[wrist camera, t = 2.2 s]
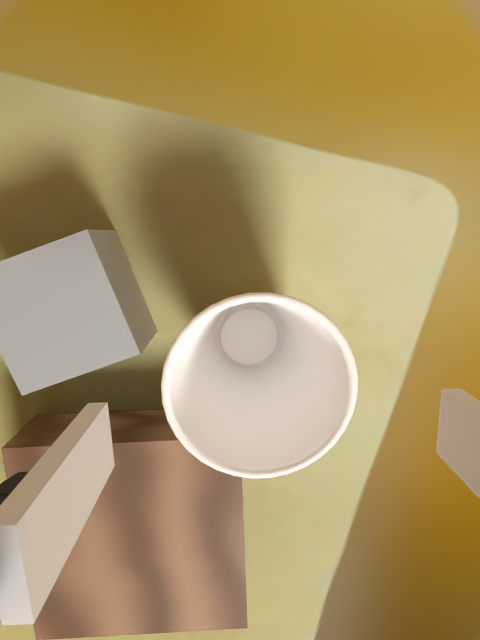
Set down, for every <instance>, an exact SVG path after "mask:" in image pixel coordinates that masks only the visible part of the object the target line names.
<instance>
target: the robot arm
mask: <svg viewBox="0 0 480 640" xmlns="http://www.w3.org/2000/svg"><path fill="white" fill-rule="evenodd" d="M436 452H437V454H438V455H439V456H440V457H441V458H442V459H443V460H444V461H445V462H446V463H447V464H448V466H449V467H450V468H451V469H452V470H453V471H454V472H455V473H456V474H457V475H458V476H459V477H460V478H461V480H462V481H463V482H464V483H465V484H466V485H467V486H468V487H469V488H470V489H471V490H472V491H473V492H474V493H475V495H476V496H477V497H478V498H479V499H480V401H478V400H477V399H476V398H474V397H473V396H471V395H470V394H468V393H467V392H465V391H464V390H462V389H442V390H441V401H440V415H439V426H438V439H437V451H436ZM114 466H115V463H114V454H113V446H112V437H111V428H110V419H109V411H108V402H103V403H88V404H87V405H86V406H85V407H84V408H83V409H82V411H81V412H80V413H79V414H78V415H77V416H76V418H75V419H74V420H73V421H72V422H71V423H70V425H69V426H68V427H67V428H66V429H65V430H64V432H63V433H62V434H61V435H60V436H59V437H58V439H57V440H56V441H55V442H54V443H53V444H52V446H51V447H50V448H49V449H48V450H47V451H46V453H45V454H44V455H43V456H42V457H41V458H40V460H39V461H38V462H37V463H36V464H35V465H34V467H33V468H32V469H31V470H30V471H29V472H18V473H16V474H15V475H13V476H12V477H10V478H8V479H7V480H5V481H4V482H2V483H1V484H0V617H1V622H2V625H21V624H34V623H35V621H36V619H37V617H38V615H39V613H40V611H41V609H42V607H43V605H44V603H45V601H46V599H47V598H48V596H49V594H50V592H51V590H52V588H53V586H54V584H55V582H56V580H57V578H58V576H59V574H60V572H61V570H62V568H63V566H64V564H65V562H66V560H67V558H68V556H69V554H70V552H71V550H72V548H73V547H74V545H75V543H76V541H77V539H78V537H79V535H80V533H81V531H82V529H83V527H84V525H85V523H86V521H87V519H88V517H89V515H90V513H91V511H92V509H93V507H94V505H95V503H96V501H97V499H98V498H99V496H100V494H101V492H102V490H103V488H104V486H105V484H106V482H107V480H108V478H109V476H110V474H111V472H112V470H113V468H114Z"/></svg>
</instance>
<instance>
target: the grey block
mask: <svg viewBox="0 0 480 640" xmlns="http://www.w3.org/2000/svg"><path fill="white" fill-rule="evenodd" d="M156 332H157V329H156V327H155V325H154V322H153V320H152V317H151V315H150V313H149V310H148V308H147V305H146V303H145V300H144V298H143V296H142V293H141V291H140V288H139V286H138V284H137V281H136V279H135V276H134V274H133V271H132V269H131V267H130V264H129V262H128V259H127V257H126V255H125V252H124V250H123V247H122V245H121V242H120V240H119V238H118V235H117V233H116V230H96V229H86V230H83V231H81V232H78V233H75V234H72V235H70V236H67V237H64V238H62V239H59V240H56V241H53V242H51V243H48V244H45V245H43V246H40V247H37V248H35V249H32V250H29V251H26V252H24V253H21V254H18V255H16V256H13V257H10V258H8V259H5V260H2V261H0V354H1V356H2V358H3V360H4V362H5V364H6V366H7V368H8V369H9V371H10V373H11V375H12V377H13V379H14V381H15V383H16V385H17V387H18V389H19V391H20V393H21V395H22V396H23V395H26V394H29V393H31V392H34V391H37V390H40V389H43V388H46V387H49V386H51V385H54V384H57V383H60V382H63V381H66V380H68V379H71V378H74V377H77V376H80V375H83V374H85V373H88V372H91V371H94V370H97V369H100V368H103V367H105V366H108V365H111V364H114V363H117V362H120V361H122V360H125V359H128V358H131V357H134V356H137V355H139V354H141V353H142V351H143V350H144V349H145V347H146V346H147V345H148V343H149V342H150V341H151V339H152V338H153V336H154V335H155V334H156Z"/></svg>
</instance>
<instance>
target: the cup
mask: <svg viewBox="0 0 480 640" xmlns="http://www.w3.org/2000/svg"><path fill="white" fill-rule="evenodd" d="M357 388H358V375H357V369H356V364H355V359H354V356H353V354H352V351H351V349H350V346H349V344H348V342H347V340H346V339H345V337H344V336H343V334H342V333H341V331H340V330H339V328H338V327H337V326H336V325H335V324H334V323H333V322H332V321H331V320H330V319H329V318H328V317H327V316H326V315H325V314H324V313H323V312H321V311H319V310H318V309H316V308H315V307H313V306H312V305H310V304H308V303H307V302H304V301H301V300H299V299H296V298H294V297H291V296H288V295H282V294H276V293H270V292H260V293H245V294H241V295H237V296H232V297H228V298H226V299H224V300H221V301H219V302H217V303H215V304H212V305H210V306H209V307H207V308H206V309H204V310H203V311H202V312H200V313H199V314H197V315H196V316H194V317H193V318H192V319H191V320H190V321H189V322H188V324H187V325H186V326H185V327H184V328H183V329H182V330H181V331H180V332H179V334H178V335H177V337H176V339H175V340H174V342H173V344H172V345H171V347H170V349H169V352H168V354H167V357H166V360H165V363H164V366H163V372H162V380H161V394H162V404H163V408H164V411H165V414H166V418H167V421H168V423H169V425H170V426H171V428H172V430H173V432H174V434H175V436H176V437H177V438H178V440H179V441H180V442H181V443H182V444H183V446H184V447H185V448H186V449H187V450H188V451H189V452H190V453H191V454H192V455H194V456H195V457H196V458H197V459H199V460H200V461H201V462H203V463H205V464H206V465H208V466H210V467H212V468H214V469H216V470H218V471H221V472H224V473H227V474H230V475H233V476H239V477H246V478H271V477H276V476H280V475H285V474H289V473H291V472H294V471H296V470H299V469H301V468H304V467H306V466H307V465H309V464H311V463H312V462H314V461H315V460H317V459H318V458H320V457H321V456H322V455H324V454H325V453H326V452H327V451H328V450H329V449H330V448H331V447H332V446H333V445H334V444H335V443H336V441H337V440H338V439H339V437H340V436H341V435H342V433H343V432H344V431H345V429H346V427H347V425H348V423H349V420H350V418H351V416H352V414H353V410H354V406H355V402H356V398H357Z"/></svg>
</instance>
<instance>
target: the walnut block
mask: <svg viewBox="0 0 480 640" xmlns="http://www.w3.org/2000/svg"><path fill="white" fill-rule="evenodd" d="M78 414H79V413H67V414H45V415H36V416H35V417H34V418H33V419H32V420H31V421H30V422H29V423H28V424H27V425H26V426H25V427H24V428H22V429H21V430H20V431H19V432H18V433H17V434H16V435H15V436H14V437H13V438H12V439H11V440H10V441H9V442H8V443H7V444H6V445H4V446H3V447H2V448H1V449H2V454H3V460H4V465H5V471H6V476H7V479H8V478H10V477H12V476H13V475H15V474H16V473H18V472H29V471H30V470H31V469H32V468H33V467H34V465H35V464H36V463H37V462H38V461H39V460H40V458H41V457H42V456H43V455H44V454H45V453H46V451H47V450H48V449H49V448H50V447H51V446H52V444H53V443H54V442H55V441H56V440H57V439H58V437H59V436H60V435H61V434H62V433H63V432H64V430H65V429H66V428H67V427H68V426H69V425H70V423H71V422H72V421H73V420H74V419H75V418H76V416H77V415H78ZM109 419H110V428H111V437H112V446H113V454H114V463H115V466H114V468H113V470H112V472H111V474H110V476H109V478H108V480H107V482H106V484H105V486H104V488H103V490H102V492H101V494H100V496H99V498H98V499H97V501H96V503H95V505H94V507H93V509H92V511H91V513H90V515H89V517H88V519H87V521H86V523H85V525H84V527H83V529H82V531H81V533H80V535H79V537H78V539H77V541H76V543H75V545H74V547H73V548H72V550H71V552H70V554H69V556H68V558H67V560H66V562H65V564H64V566H63V568H62V570H61V572H60V574H59V576H58V578H57V580H56V582H55V584H54V586H53V588H52V590H51V592H50V594H49V596H48V598H47V599H46V601H45V603H44V605H43V607H42V609H41V611H40V613H39V615H38V617H37V619H36V621H35V623H34V624H33V625H34V630H35V636H36V640H46V639H64V638H82V637H99V636H117V635H135V634H152V633H170V632H188V631H205V630H223V629H240V628H247V602H246V575H245V549H244V522H243V496H242V477H239V476H233V475H230V474H227V473H224V472H221V471H218V470H216V469H214V468H212V467H210V466H208V465H206V464H205V463H203V462H201V461H200V460H199V459H197V458H196V457H195V456H194V455H192V454H191V453H190V452H189V451H188V450H187V449H186V448H185V447H184V446H183V444H182V443H181V442H180V441H179V440H178V438H177V437H176V436H175V434H174V432H173V430H172V428H171V426H170V425H169V423H168V421H167V418H166V414H165V411H164V409H157V410H135V411H112V412H109Z"/></svg>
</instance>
